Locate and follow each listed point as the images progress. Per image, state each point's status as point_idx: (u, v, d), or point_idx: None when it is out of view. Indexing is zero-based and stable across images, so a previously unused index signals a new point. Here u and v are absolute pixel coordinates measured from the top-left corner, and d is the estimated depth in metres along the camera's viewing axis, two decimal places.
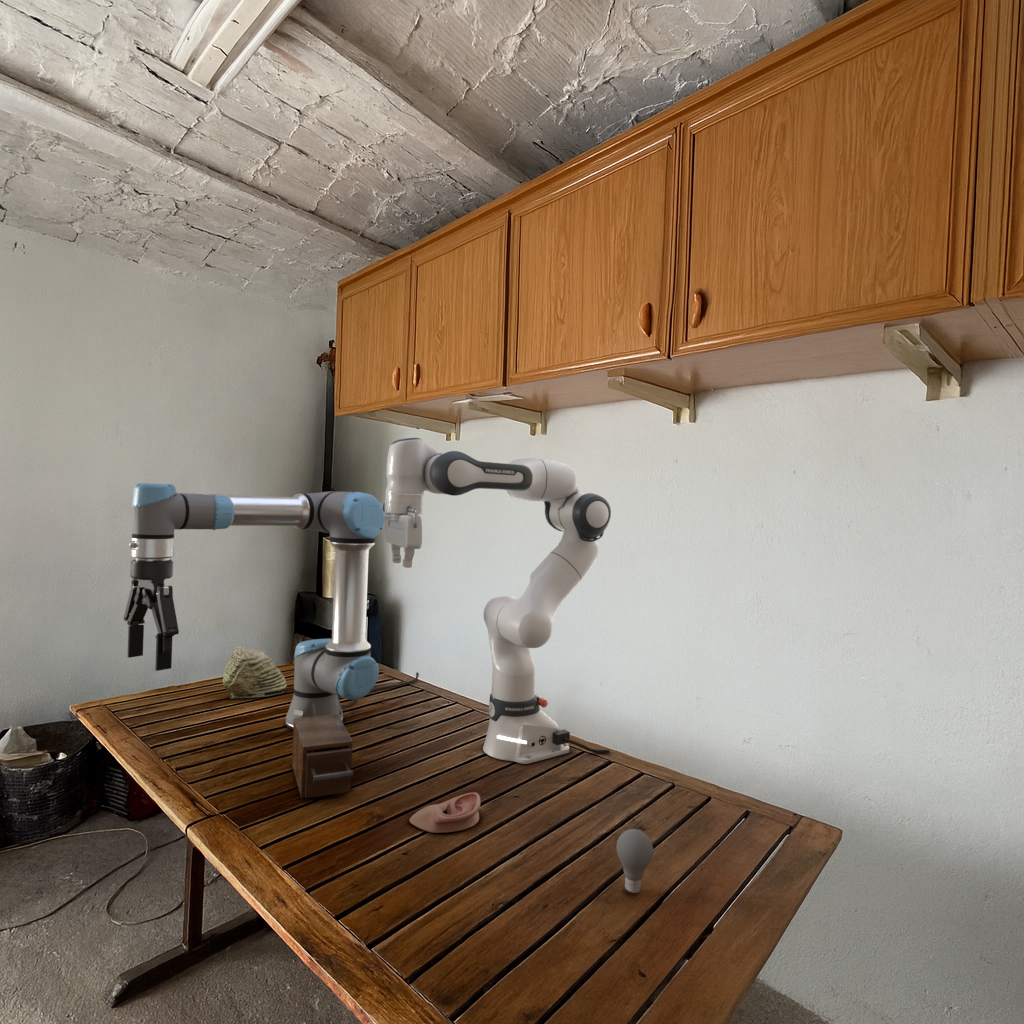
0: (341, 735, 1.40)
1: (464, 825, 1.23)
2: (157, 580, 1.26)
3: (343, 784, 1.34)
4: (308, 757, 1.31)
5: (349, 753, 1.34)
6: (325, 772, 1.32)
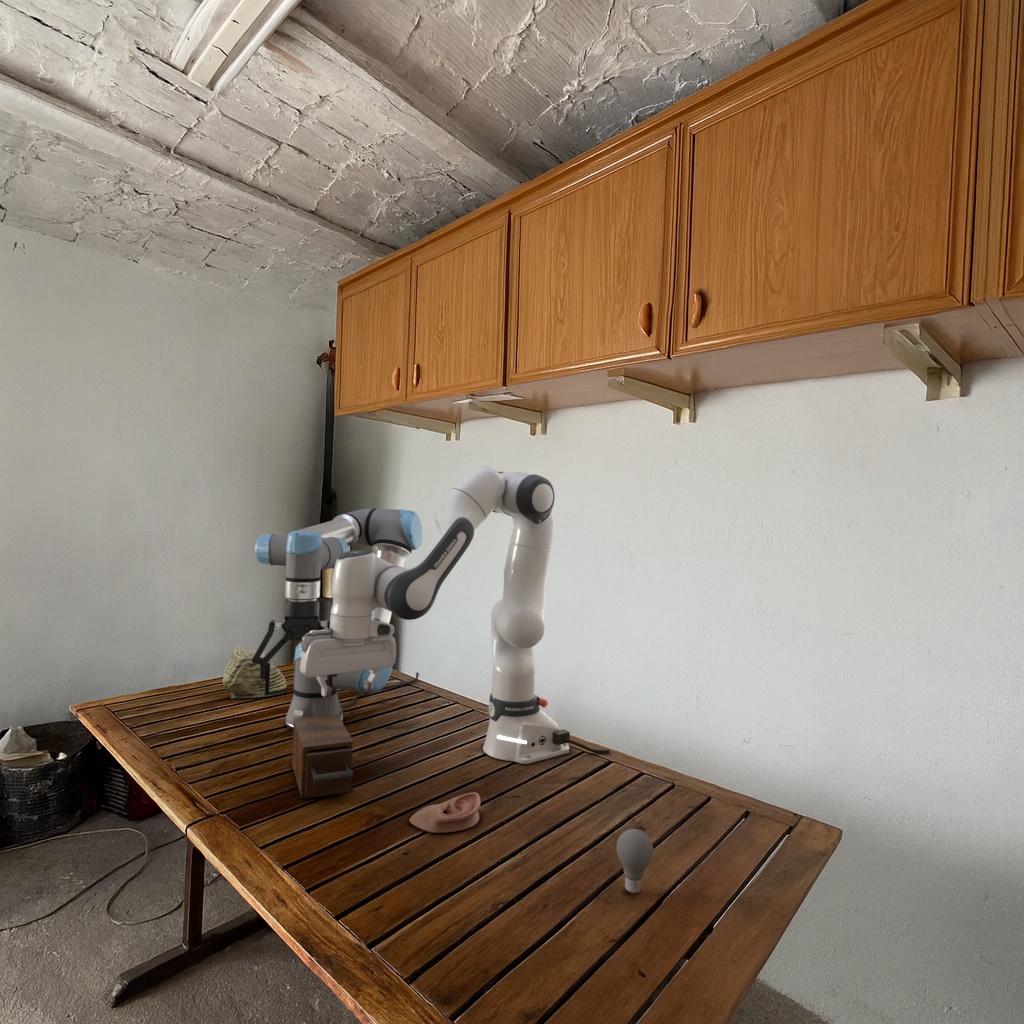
0: (341, 735, 1.40)
1: (464, 825, 1.23)
2: (318, 616, 1.45)
3: (343, 784, 1.34)
4: (308, 757, 1.31)
5: (349, 753, 1.34)
6: (325, 772, 1.32)
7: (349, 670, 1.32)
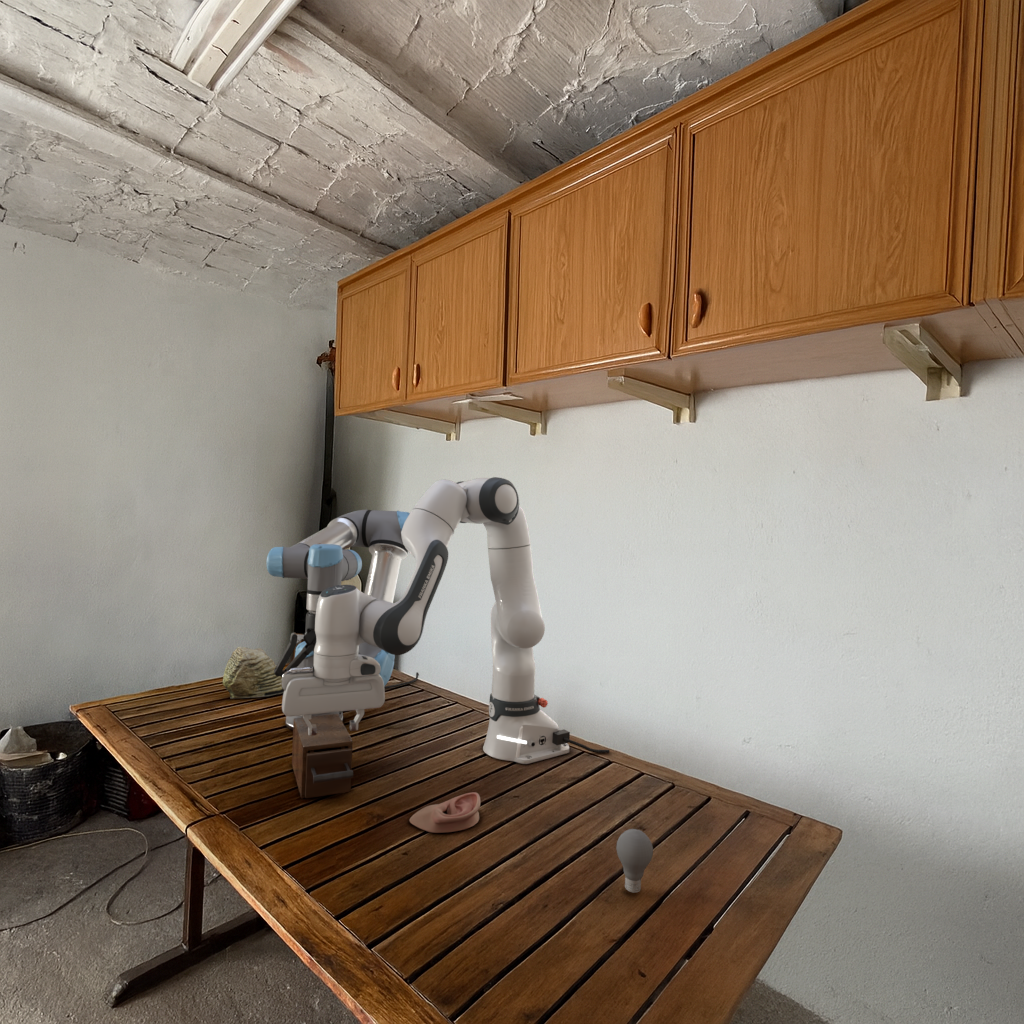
0: (341, 735, 1.40)
1: (464, 825, 1.23)
2: None
3: (343, 784, 1.34)
4: (308, 757, 1.31)
5: (349, 753, 1.34)
6: (325, 772, 1.32)
7: (332, 710, 1.28)
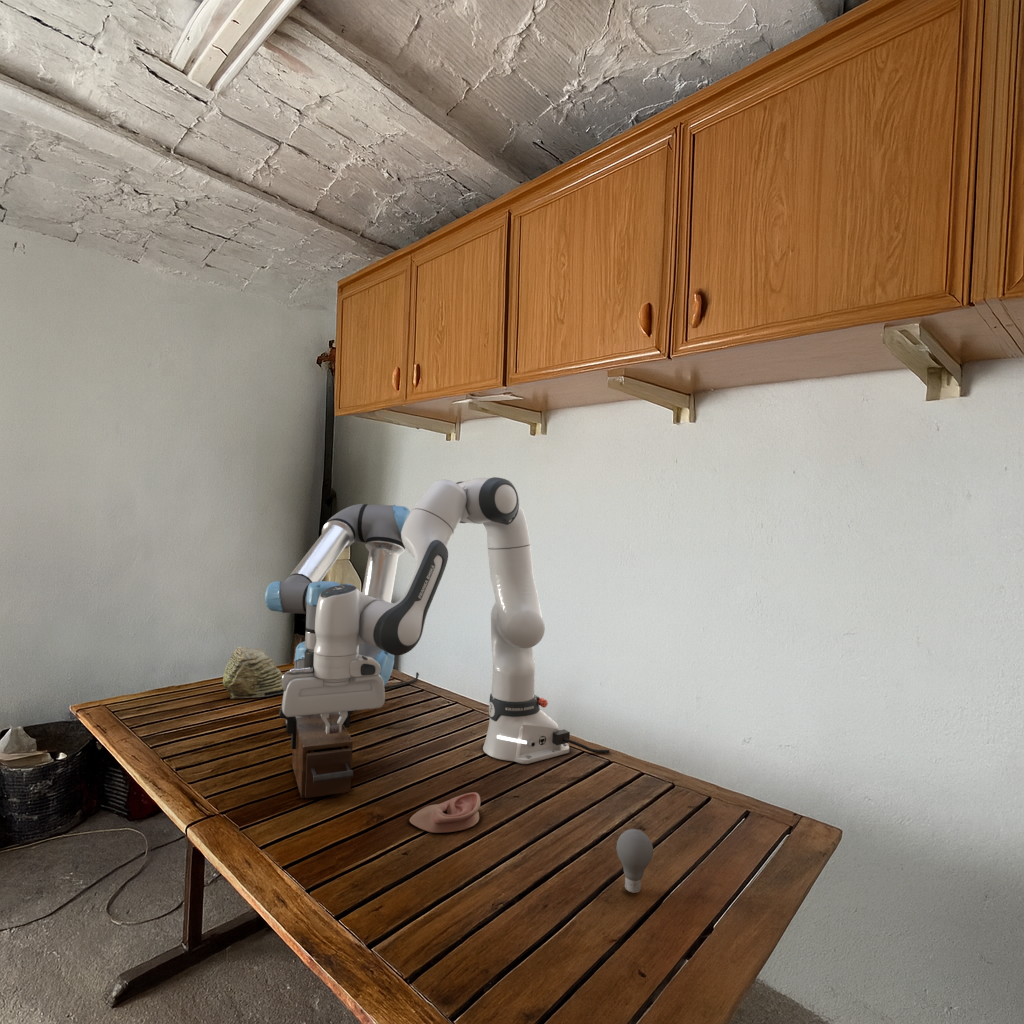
0: (341, 735, 1.40)
1: (464, 825, 1.23)
2: None
3: (343, 784, 1.34)
4: (308, 757, 1.31)
5: (349, 753, 1.34)
6: (325, 772, 1.32)
7: (332, 710, 1.28)
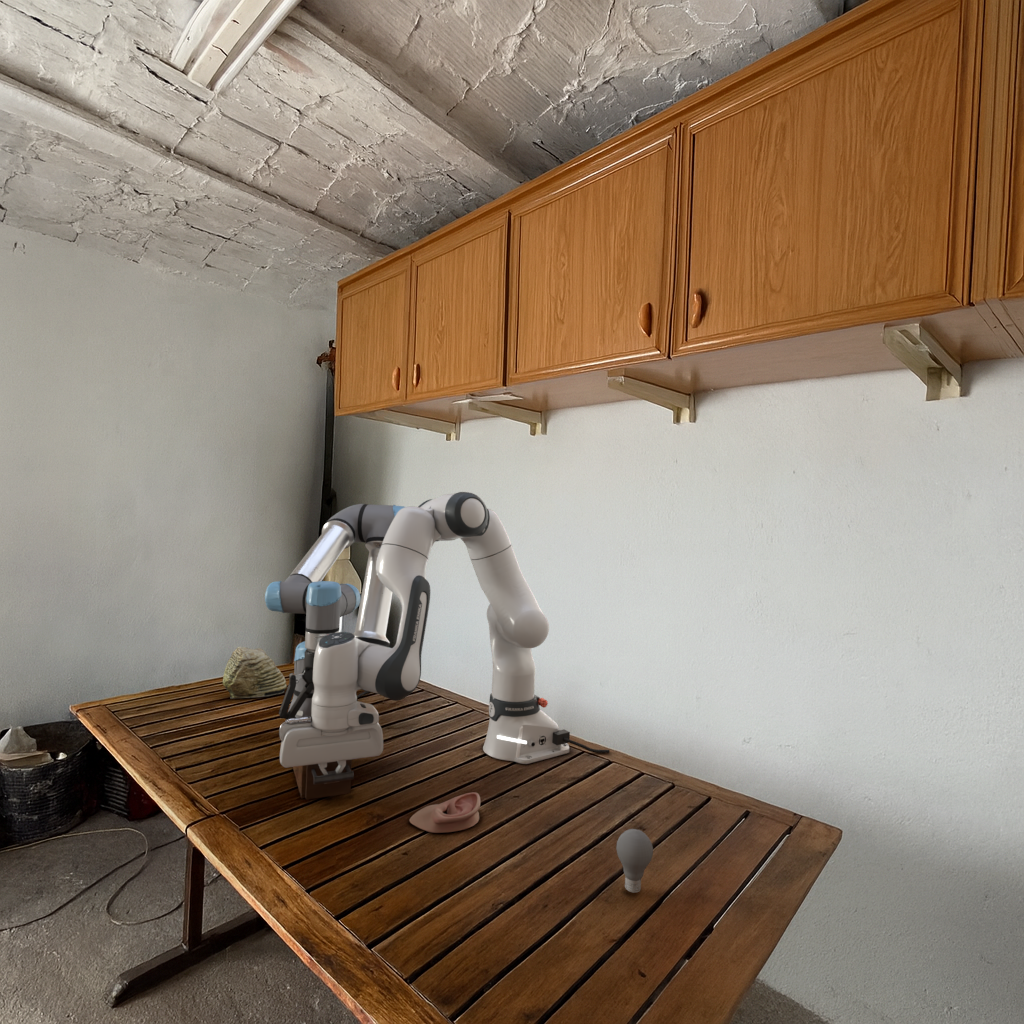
0: None
1: (464, 825, 1.23)
2: None
3: (344, 785, 1.33)
4: None
5: None
6: None
7: (330, 760, 1.27)
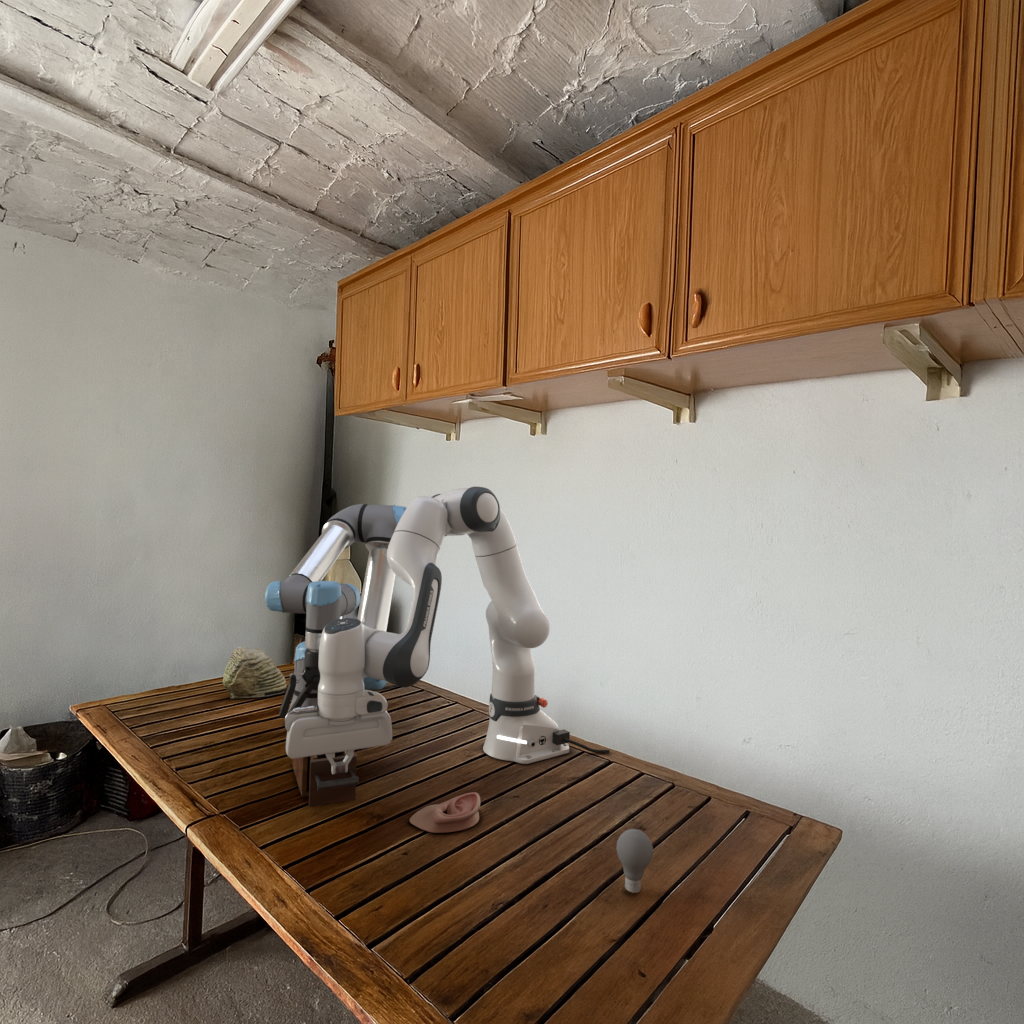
0: None
1: (464, 825, 1.23)
2: None
3: (348, 792, 1.29)
4: (312, 764, 1.26)
5: (354, 759, 1.30)
6: (330, 779, 1.28)
7: (338, 750, 1.23)
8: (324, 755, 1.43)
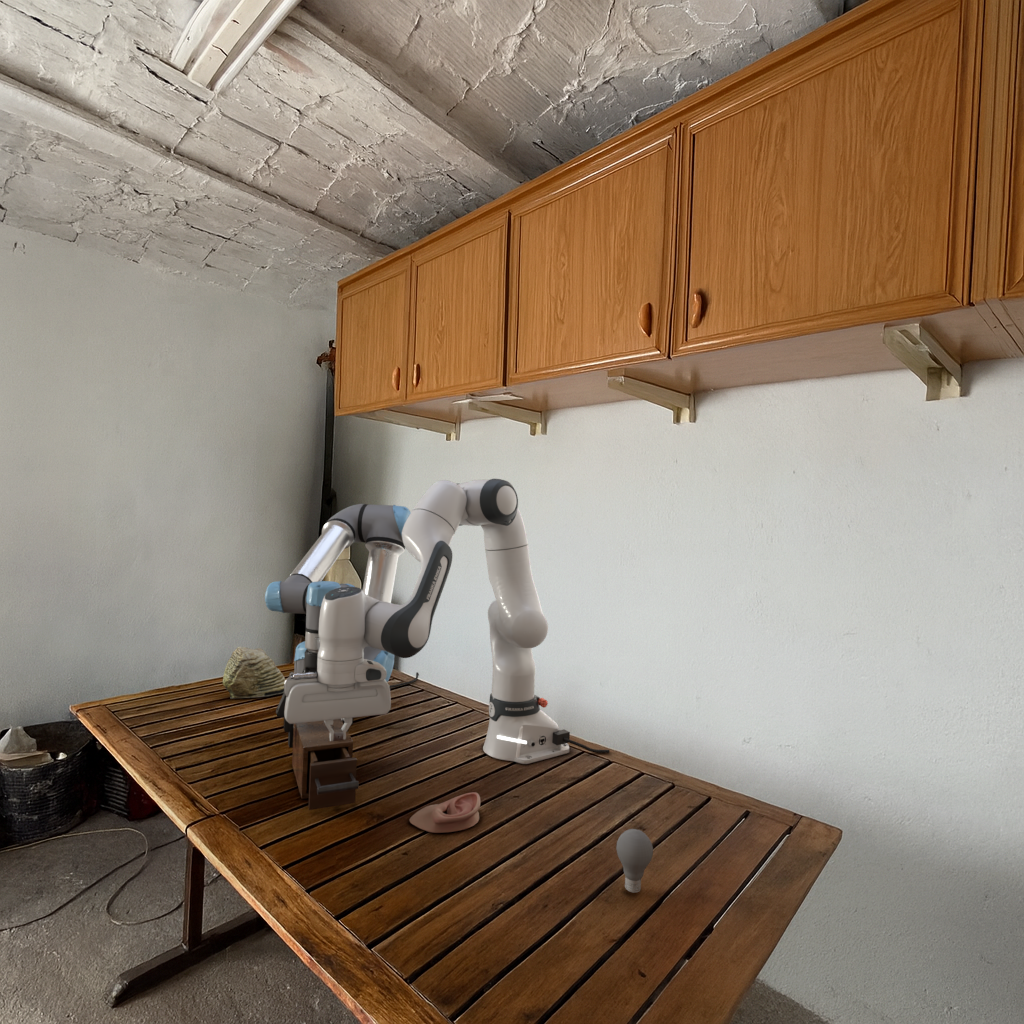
0: None
1: (464, 825, 1.23)
2: None
3: (348, 795, 1.29)
4: (312, 767, 1.26)
5: (354, 763, 1.29)
6: (330, 782, 1.27)
7: (336, 717, 1.23)
8: (324, 756, 1.43)
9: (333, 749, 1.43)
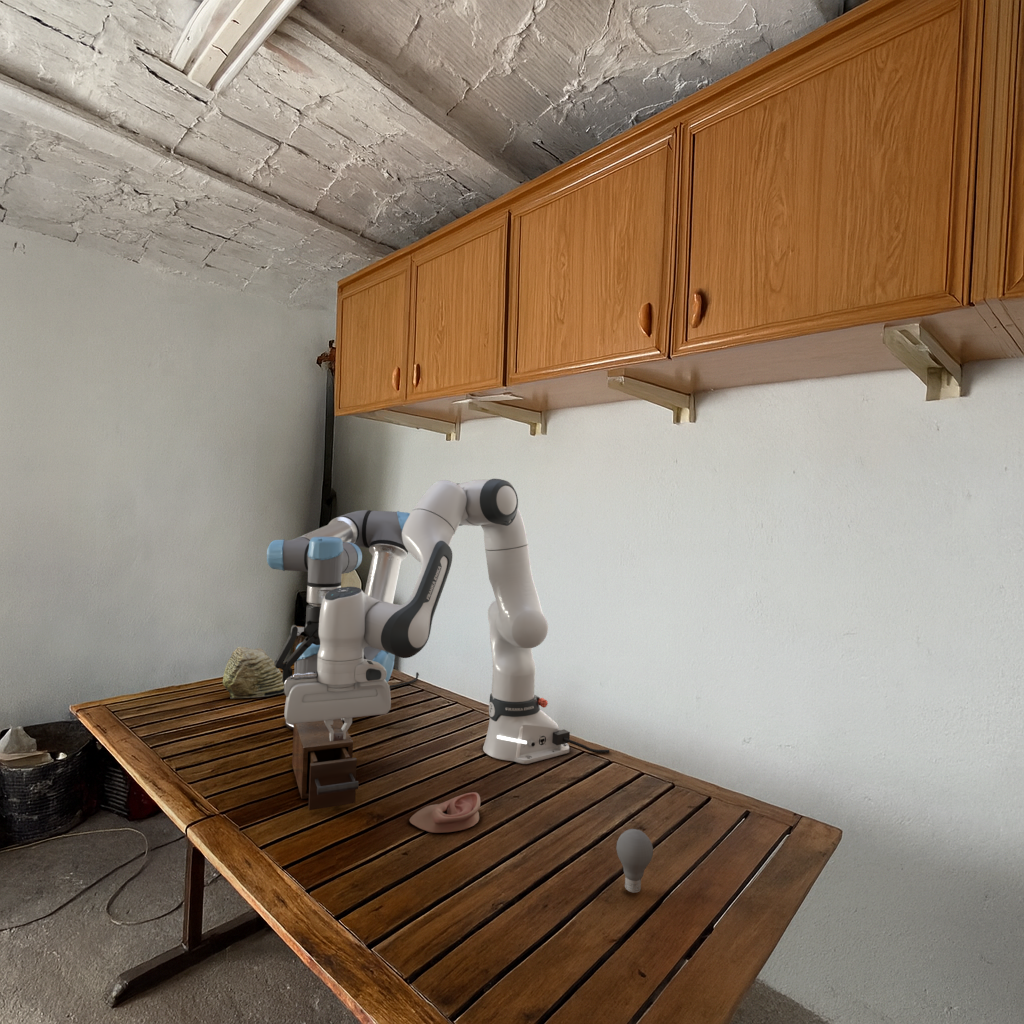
0: None
1: (464, 825, 1.23)
2: None
3: (348, 795, 1.29)
4: (312, 767, 1.26)
5: (354, 763, 1.29)
6: (330, 782, 1.27)
7: (336, 717, 1.23)
8: (324, 756, 1.43)
9: (333, 749, 1.43)
